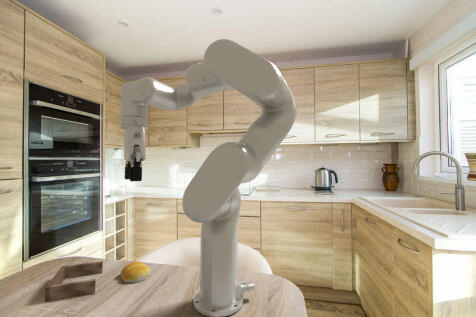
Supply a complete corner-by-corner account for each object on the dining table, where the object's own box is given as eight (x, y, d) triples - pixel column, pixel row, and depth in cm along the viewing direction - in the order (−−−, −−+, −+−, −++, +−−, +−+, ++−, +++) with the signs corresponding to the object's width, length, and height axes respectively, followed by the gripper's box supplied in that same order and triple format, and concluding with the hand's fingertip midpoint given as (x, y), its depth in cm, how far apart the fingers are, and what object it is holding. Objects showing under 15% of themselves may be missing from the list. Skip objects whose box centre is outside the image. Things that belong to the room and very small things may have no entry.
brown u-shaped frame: (102, 271, 77) (102, 260, 77) (94, 293, 64) (95, 280, 64) (61, 277, 73) (62, 266, 73) (44, 302, 60) (45, 288, 60)
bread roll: (126, 287, 68) (126, 273, 68) (118, 275, 75) (118, 263, 75) (154, 278, 74) (154, 265, 74) (144, 268, 81) (144, 256, 81)
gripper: (153, 121, 68) (152, 181, 67) (141, 128, 82) (140, 178, 82) (124, 118, 64) (123, 182, 63) (117, 126, 78) (115, 178, 78)
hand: (132, 180), depth 72 cm, fingers open, 9 cm apart
